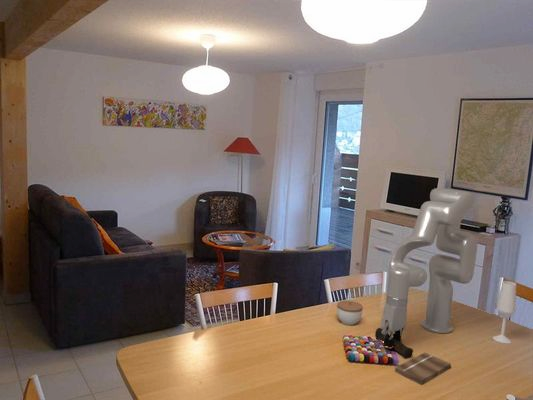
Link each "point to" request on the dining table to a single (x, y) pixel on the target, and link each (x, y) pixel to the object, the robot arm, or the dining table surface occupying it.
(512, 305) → the champagne flute
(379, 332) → the hand tool
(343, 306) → the lidded jar
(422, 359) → the board
